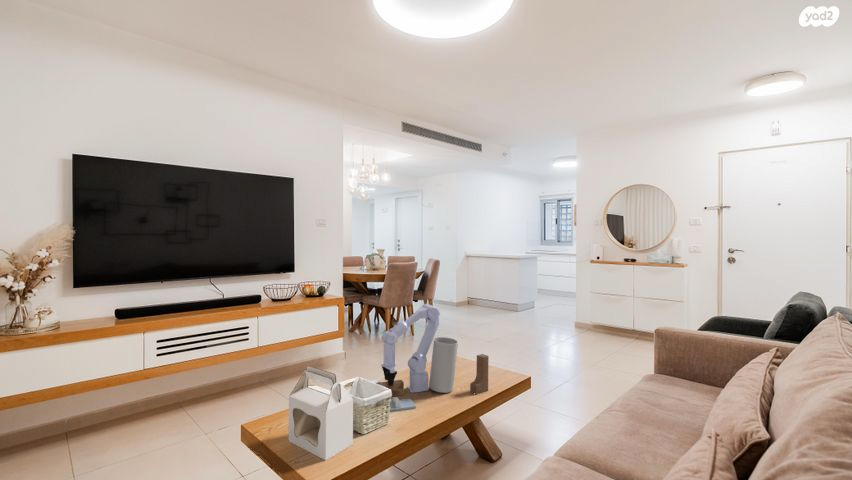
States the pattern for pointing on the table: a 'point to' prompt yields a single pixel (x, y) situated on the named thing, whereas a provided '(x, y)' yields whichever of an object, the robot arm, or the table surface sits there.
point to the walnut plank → (394, 387)
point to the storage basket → (368, 404)
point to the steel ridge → (396, 402)
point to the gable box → (320, 415)
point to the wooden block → (480, 375)
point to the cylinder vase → (443, 364)
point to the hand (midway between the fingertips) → (388, 382)
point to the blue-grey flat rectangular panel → (402, 405)
